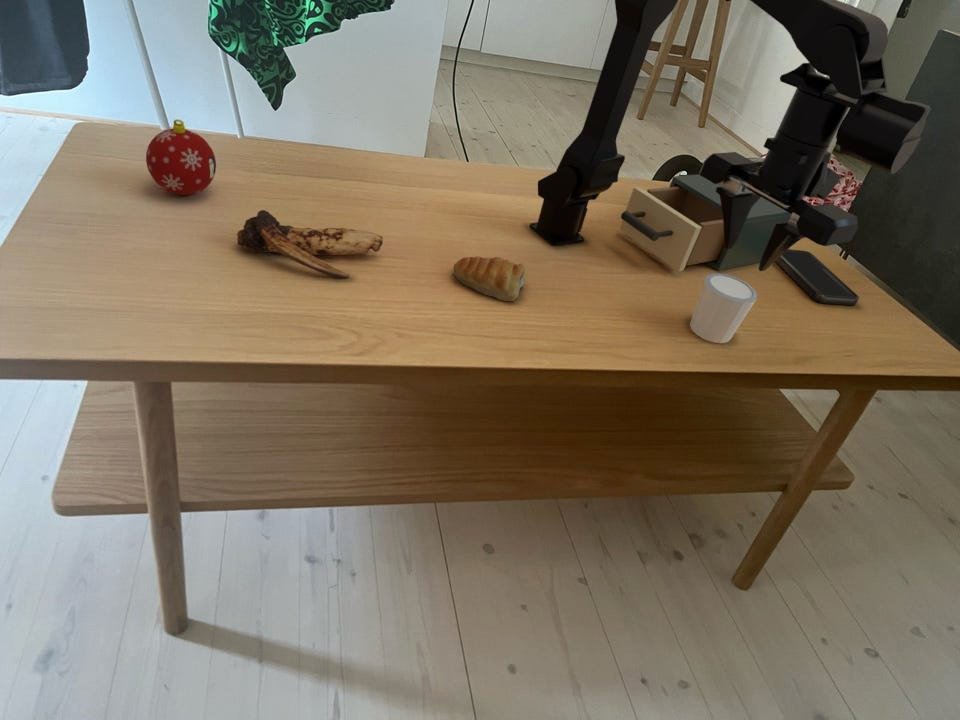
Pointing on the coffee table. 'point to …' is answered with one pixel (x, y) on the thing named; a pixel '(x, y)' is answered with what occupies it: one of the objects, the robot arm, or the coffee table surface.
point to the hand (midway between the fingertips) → (744, 259)
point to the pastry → (491, 276)
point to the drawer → (674, 225)
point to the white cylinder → (721, 307)
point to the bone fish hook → (305, 242)
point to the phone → (816, 278)
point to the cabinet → (754, 228)
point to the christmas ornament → (180, 160)
